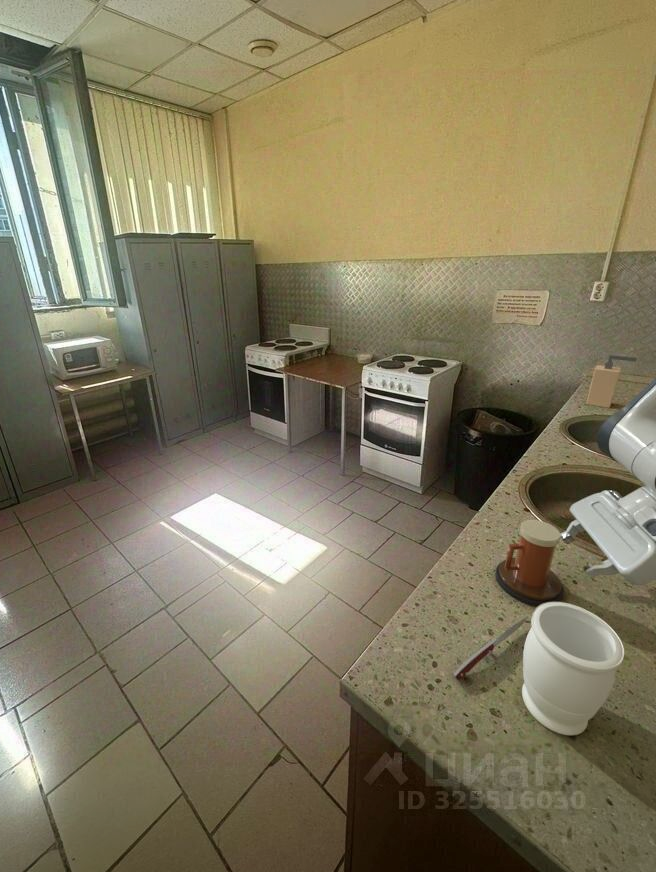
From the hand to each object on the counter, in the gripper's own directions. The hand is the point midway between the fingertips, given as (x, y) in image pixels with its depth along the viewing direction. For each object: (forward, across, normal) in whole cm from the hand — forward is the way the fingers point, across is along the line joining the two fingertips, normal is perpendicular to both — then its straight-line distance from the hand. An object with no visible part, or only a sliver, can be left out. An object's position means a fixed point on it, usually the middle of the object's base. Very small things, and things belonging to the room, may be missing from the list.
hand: (574, 555), depth 77 cm
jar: (+14, +25, -3) cm, 29 cm away
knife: (+19, +17, -8) cm, 27 cm away
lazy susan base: (+10, 0, 0) cm, 11 cm away
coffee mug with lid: (+10, 0, 0) cm, 10 cm away
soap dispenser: (-40, -116, +53) cm, 134 cm away
